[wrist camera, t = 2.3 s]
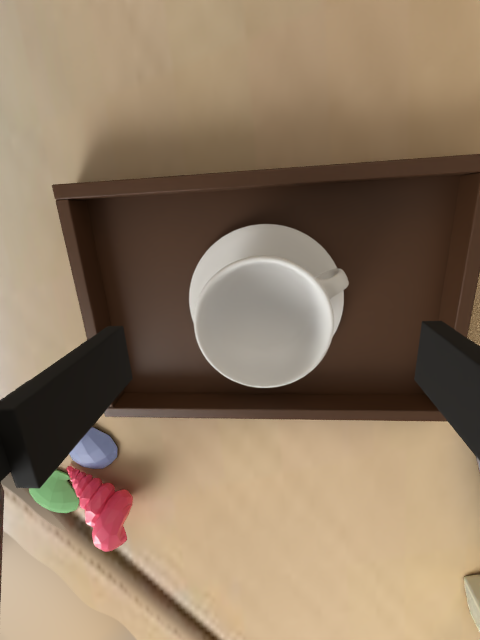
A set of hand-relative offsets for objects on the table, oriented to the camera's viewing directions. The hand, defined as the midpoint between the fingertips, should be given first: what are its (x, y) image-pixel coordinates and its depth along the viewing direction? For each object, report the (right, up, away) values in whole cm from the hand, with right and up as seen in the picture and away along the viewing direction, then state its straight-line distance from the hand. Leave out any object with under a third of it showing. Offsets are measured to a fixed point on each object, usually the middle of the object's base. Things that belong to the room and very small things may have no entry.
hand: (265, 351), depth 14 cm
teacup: (+1, +3, +7) cm, 8 cm away
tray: (+1, +3, +7) cm, 8 cm away
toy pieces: (-15, -12, +14) cm, 24 cm away
